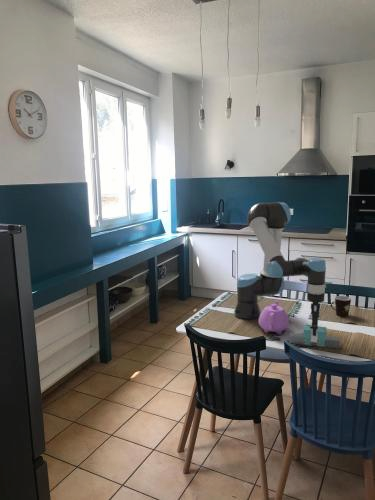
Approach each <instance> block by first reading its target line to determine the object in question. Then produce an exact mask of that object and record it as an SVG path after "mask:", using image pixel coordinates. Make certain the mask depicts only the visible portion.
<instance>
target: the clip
mask: <svg viewBox="0 0 375 500" xmlns="http://www.w3.org/2000/svg"><path fill="white" fill-rule="evenodd" d="M310 327H312V325H303V330H302V331H303V333H302V334H303V338H304V341H305V344H306V345H310V342H311V328H310ZM326 336H327V326H318V336H317V341H318V342H319V346H323V345H324V343H325V340H326ZM306 345H305V346H306Z"/></svg>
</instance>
